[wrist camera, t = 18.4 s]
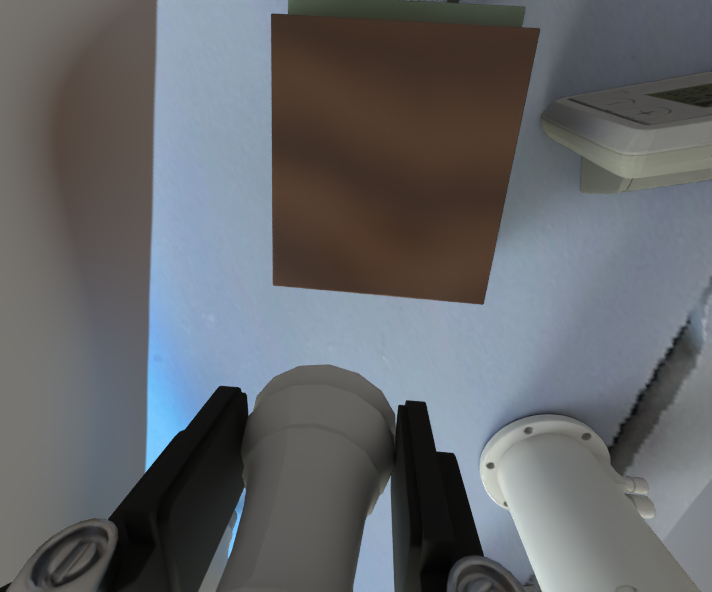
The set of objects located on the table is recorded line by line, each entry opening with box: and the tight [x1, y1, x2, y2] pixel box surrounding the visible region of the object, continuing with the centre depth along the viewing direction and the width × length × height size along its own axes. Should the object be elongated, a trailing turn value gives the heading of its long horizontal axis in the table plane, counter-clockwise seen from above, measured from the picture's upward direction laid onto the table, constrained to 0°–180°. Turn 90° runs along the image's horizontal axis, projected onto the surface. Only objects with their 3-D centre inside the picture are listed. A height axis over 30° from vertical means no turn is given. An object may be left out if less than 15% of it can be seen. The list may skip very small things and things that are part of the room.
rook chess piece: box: [216, 365, 396, 592], centre depth 7 cm, size 4×4×8 cm
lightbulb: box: [198, 510, 237, 592], centre depth 35 cm, size 6×6×11 cm
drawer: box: [288, 0, 525, 27], centre depth 22 cm, size 17×12×8 cm
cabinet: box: [271, 14, 540, 305], centre depth 23 cm, size 14×13×10 cm
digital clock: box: [541, 71, 712, 194], centre depth 20 cm, size 16×9×11 cm, turn 87°
